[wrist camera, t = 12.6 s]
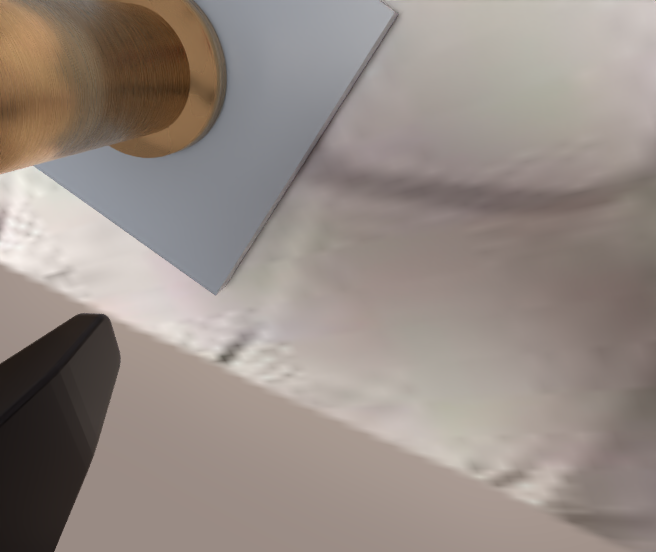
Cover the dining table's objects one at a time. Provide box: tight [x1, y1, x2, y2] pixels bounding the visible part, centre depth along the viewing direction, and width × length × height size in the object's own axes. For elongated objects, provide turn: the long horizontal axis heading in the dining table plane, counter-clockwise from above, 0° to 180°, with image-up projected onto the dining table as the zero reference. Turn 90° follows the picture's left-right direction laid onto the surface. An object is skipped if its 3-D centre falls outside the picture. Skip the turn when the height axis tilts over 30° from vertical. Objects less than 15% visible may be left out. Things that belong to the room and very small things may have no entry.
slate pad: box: [33, 0, 398, 295], centre depth 19 cm, size 12×12×1 cm
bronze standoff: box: [0, 0, 227, 174], centre depth 13 cm, size 6×6×13 cm
